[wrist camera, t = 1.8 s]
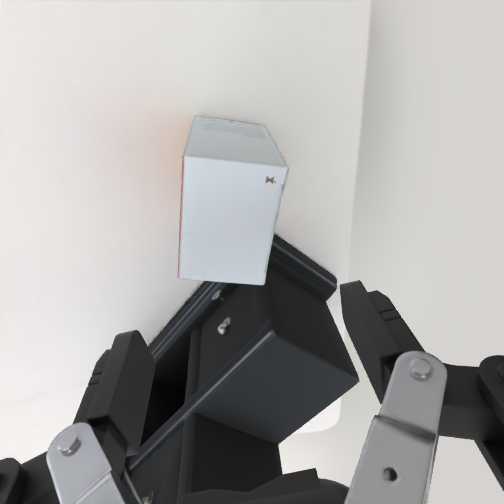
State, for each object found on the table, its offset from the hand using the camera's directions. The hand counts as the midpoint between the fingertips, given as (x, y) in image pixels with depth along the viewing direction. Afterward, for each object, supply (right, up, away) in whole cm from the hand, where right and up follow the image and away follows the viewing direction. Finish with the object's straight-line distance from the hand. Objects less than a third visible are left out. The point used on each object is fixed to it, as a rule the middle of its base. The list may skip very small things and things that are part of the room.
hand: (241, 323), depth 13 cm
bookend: (-2, -5, +24) cm, 24 cm away
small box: (-2, +10, +15) cm, 18 cm away
